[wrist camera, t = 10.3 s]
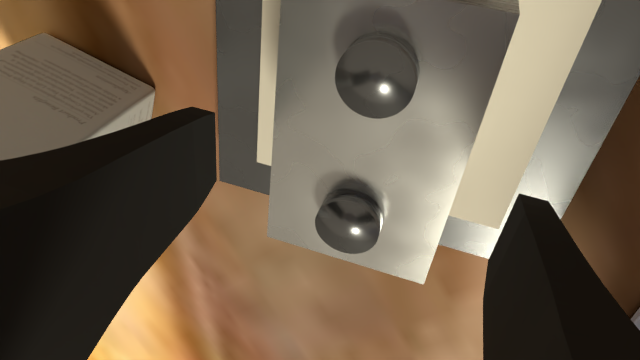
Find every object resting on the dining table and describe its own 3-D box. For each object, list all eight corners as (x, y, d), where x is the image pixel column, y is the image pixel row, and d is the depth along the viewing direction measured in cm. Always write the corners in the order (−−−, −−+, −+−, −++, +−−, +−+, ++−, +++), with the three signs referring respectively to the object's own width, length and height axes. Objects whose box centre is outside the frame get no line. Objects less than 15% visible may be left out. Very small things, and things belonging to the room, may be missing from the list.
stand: (530, 247, 21) (533, 280, 19) (234, 163, 23) (214, 186, 22) (732, -139, 12) (765, -137, 11) (234, -204, 15) (202, -210, 13)
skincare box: (47, 101, 25) (-234, 260, 15) (46, 23, 22) (-300, 158, 13) (152, 155, 25) (-66, 349, 15) (164, 83, 22) (-95, 266, 12)
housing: (515, -36, 13) (520, 23, 9) (441, 189, 18) (421, 299, 14) (343, -67, 14) (272, -27, 10) (315, 155, 19) (259, 249, 15)
